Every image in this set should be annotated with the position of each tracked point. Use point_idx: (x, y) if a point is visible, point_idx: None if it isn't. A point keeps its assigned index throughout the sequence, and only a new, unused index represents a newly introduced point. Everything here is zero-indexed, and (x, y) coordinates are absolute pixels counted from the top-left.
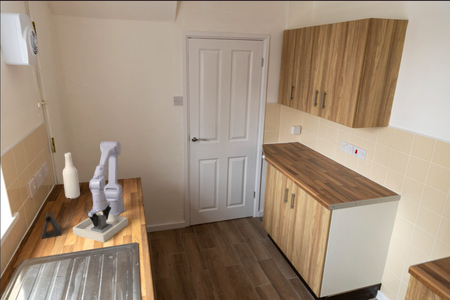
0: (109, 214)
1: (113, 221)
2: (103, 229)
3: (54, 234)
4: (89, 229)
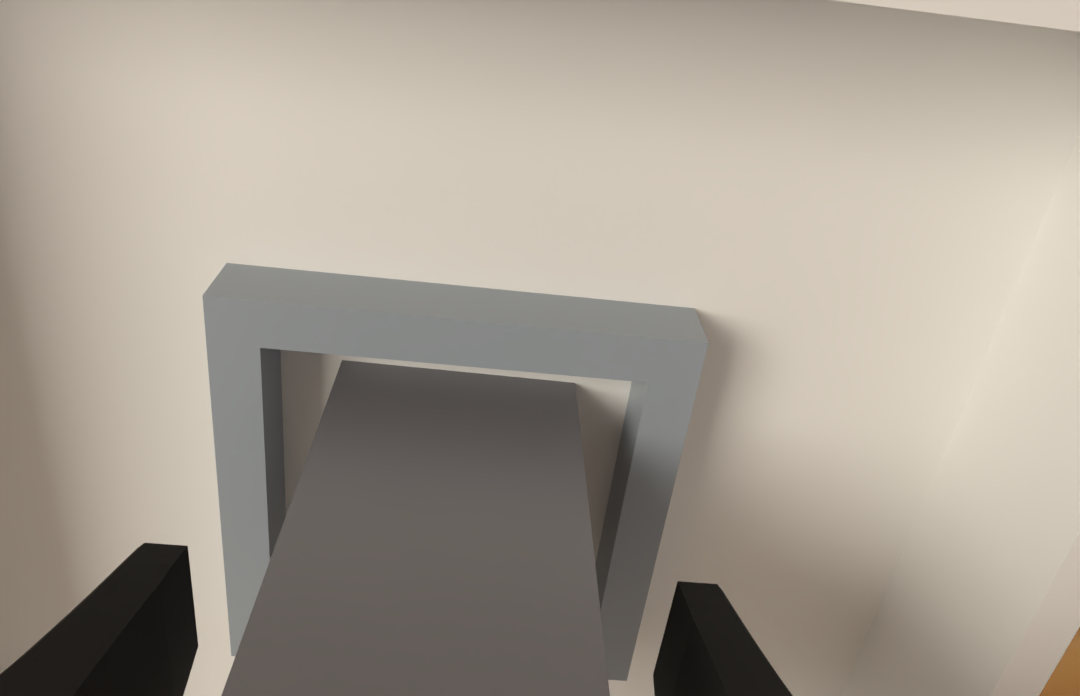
0: (1061, 568)
1: (873, 551)
2: None
3: None
4: (251, 187)
